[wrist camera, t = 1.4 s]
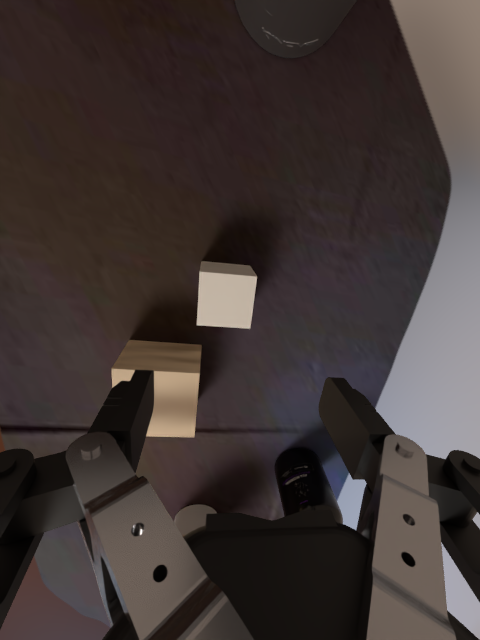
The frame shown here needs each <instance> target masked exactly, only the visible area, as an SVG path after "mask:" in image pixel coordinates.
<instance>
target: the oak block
mask: <svg viewBox="0 0 480 640" xmlns="http://www.w3.org/2000/svg"><path fill="white" fill-rule="evenodd" d="M201 349H202V345H197V344H182V343H168V342H153V341H139V340H129V341H128V343H127V344H126V346H125V348H124V349H123V351H122V353H121V354H120V356H119V357H118V359H117V361H116V362H115V364H114V365H113V367H112V387H114V386H115V385H117V384H118V383H119V382H120V381H130V380H131V378H132V376H133V374H134V371H135V370H153V371H154V408H153V413H152V417H151V420H150V424H149V427H148V431H147V434H146V436H159V437H194V434H195V423H196V411H197V400H198V388H199V376H200V363H201Z"/></svg>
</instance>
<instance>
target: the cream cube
mask: <svg viewBox="0 0 480 640" xmlns="http://www.w3.org/2000/svg"><path fill="white" fill-rule="evenodd" d="M256 282H257V275H256V274H255V272H254V271H253V269H252V268H251V266H250V265H239V264H228V263H217V262H207V261H202V262H201V267H200V275H199V293H198V311H197V325H200V326H216V327H232V328H248V329H250V326H251V319H252V312H253V304H254V297H255V290H256Z"/></svg>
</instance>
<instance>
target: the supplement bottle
mask: <svg viewBox="0 0 480 640" xmlns="http://www.w3.org/2000/svg"><path fill="white" fill-rule="evenodd" d="M275 475H276V479H277V484H278V489H279V493H280V498H281V502H282V507H283V511H284V516H285V517H286V516H289V515H292V514H294V513H297V512H300V511H315V510H331V511H332V513H333V516H334V518H335V521H336V522H338V523H341V524H343V518H342V514H341V511H340V509H339V506H338V504H337V501H336V499H335V496H334V494H333V491H332V489H331V486H330V484H329V481H328V479H327V476H326V474H325V472H324V469H323V467H322V464H321V462H320V460H319V458H318V456H317V455H316V454H315V453H314V452H312V451H311V450H308V449H303V448H297V449H292V450H289V451H287V452H285V453H284V454H282V455H281V456H280V457H279V458H278V460H277V461H276V464H275Z"/></svg>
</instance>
